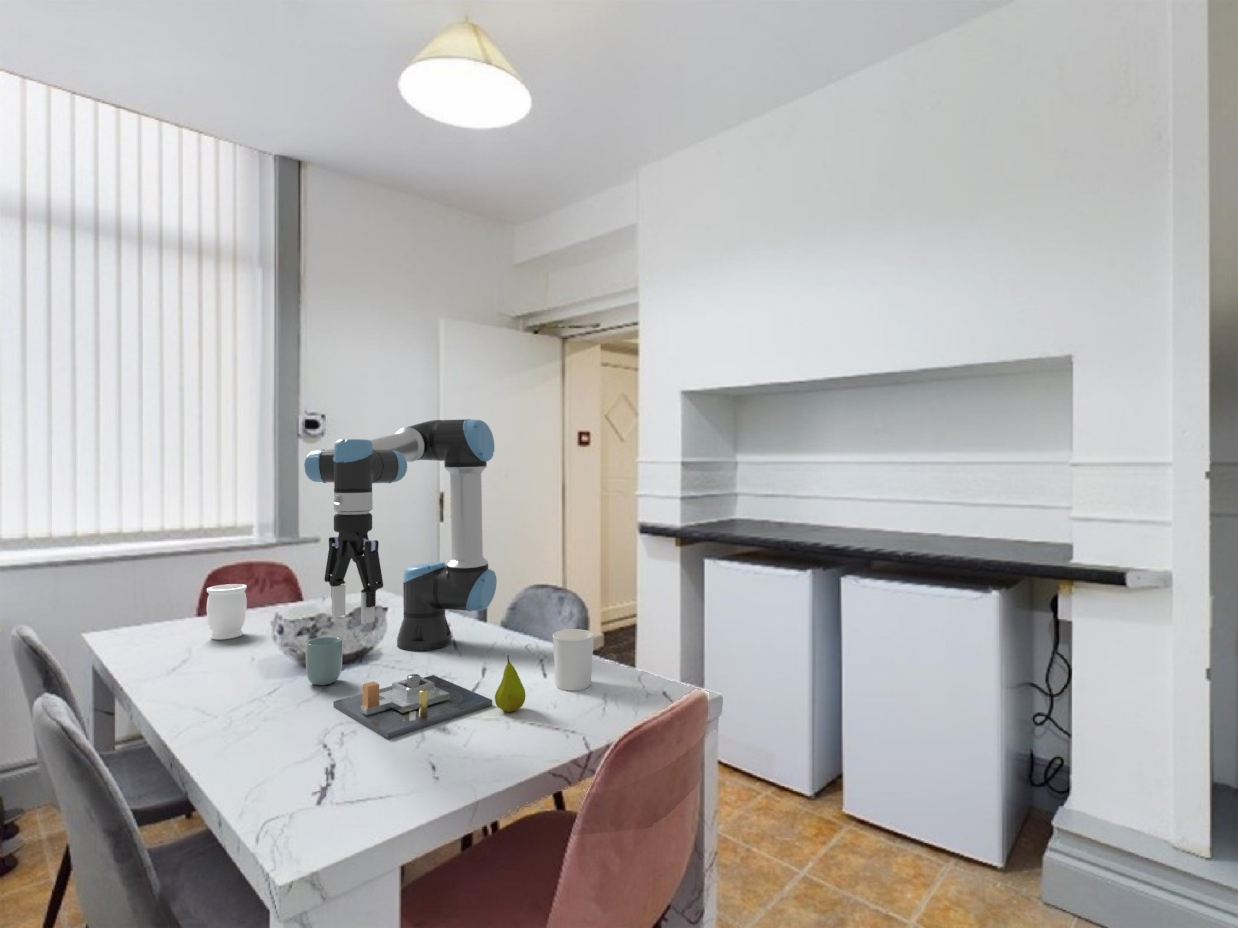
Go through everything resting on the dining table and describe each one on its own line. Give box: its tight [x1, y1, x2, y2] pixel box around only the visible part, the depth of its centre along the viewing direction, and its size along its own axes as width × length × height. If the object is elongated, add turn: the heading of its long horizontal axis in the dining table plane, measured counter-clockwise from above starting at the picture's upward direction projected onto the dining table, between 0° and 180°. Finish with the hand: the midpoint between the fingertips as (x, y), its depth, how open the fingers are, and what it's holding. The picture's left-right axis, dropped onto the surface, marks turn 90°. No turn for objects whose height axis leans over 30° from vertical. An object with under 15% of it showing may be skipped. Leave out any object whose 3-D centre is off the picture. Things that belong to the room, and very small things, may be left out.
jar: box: [206, 583, 248, 641], centre depth 196 cm, size 11×10×15 cm
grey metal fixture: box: [361, 676, 450, 715], centre depth 139 cm, size 16×11×6 cm, turn 137°
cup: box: [305, 636, 343, 686], centre depth 155 cm, size 8×8×10 cm
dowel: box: [419, 690, 427, 717], centre depth 132 cm, size 2×2×5 cm
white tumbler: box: [552, 628, 595, 692], centre depth 154 cm, size 10×10×12 cm
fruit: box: [494, 655, 526, 713], centre depth 138 cm, size 6×6×12 cm
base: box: [333, 673, 493, 740], centre depth 141 cm, size 24×24×6 cm
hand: (353, 619), depth 137 cm, fingers open, 9 cm apart
